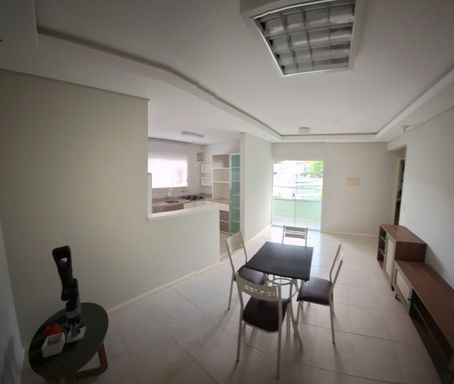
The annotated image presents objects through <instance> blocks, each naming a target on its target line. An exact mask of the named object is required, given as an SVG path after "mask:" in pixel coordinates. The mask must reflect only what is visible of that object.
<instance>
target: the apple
mask: <svg viewBox="0 0 454 384" xmlns="http://www.w3.org/2000/svg"><path fill="white" fill-rule="evenodd" d="M59 333H62V327H61V326H60V324H57V323H50V324H49V325H48V326H46V328H45V329H44V331H43V335H42V338H43V339H44V340H45V341H46V339H47V337H48V336H52V335H56V334H59Z"/></svg>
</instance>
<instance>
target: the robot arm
mask: <svg viewBox="0 0 454 384" xmlns="http://www.w3.org/2000/svg"><path fill="white" fill-rule="evenodd" d="M51 255H52V259H53V261H54V262H55V265H56V270H57V273H58V276H59V278H60V279H59V280H60V283H61V294H60V300H61V301H62V302H66V303H65V311H66V313H65V314H66V316H65V317H66V321H67V323H64V325H63V328H64V330H65V331H66V332H71V335H72V330H73V327H74V326H76V328H77V331H78V334H79V333H80V331H81V330H80V328H82V327H84V323H85V321H86V319H85V318H83V319H82V318H81V315H80V314H82V311H83V310H82V305H81V303H82V302H81V297H80V292H79V290H80V289H79V281H78V278H76V277H74V274H73V272H74V271H73V261H72V260H73V259H72V250H71V247H70V246H69V245H63V246H59V247H55V248H53V249H52V251H51ZM63 259H66V261H65V260H63ZM80 323H81V324H80ZM72 336H73V335H72Z"/></svg>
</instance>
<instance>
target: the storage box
mask: <svg viewBox="0 0 454 384" xmlns="http://www.w3.org/2000/svg"><path fill="white" fill-rule="evenodd" d="M65 343H66V337H65V332H61V333H59V334H56V335H52V336H48V337H47V339H46V340H45V341H44V342H43V344H42V347H41V352H42V357H44V358H47V357H51V356H54V355H57V354H62V351H63V349H64V345H65Z"/></svg>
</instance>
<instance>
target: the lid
mask: <svg viewBox="0 0 454 384" xmlns="http://www.w3.org/2000/svg"><path fill="white" fill-rule="evenodd" d="M86 329H87V326H82V328H80V330H81V331H80V333H79V334H78V331H77V328H76V326H74V327H73V330H72V335H73V336H72V335H71V332H70V331H69V333H68V334H67V337H66V338H65V343H66V344H67V343H73V342H76V341H80V340H82V339H83V338H84V335H85V331H86Z"/></svg>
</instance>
